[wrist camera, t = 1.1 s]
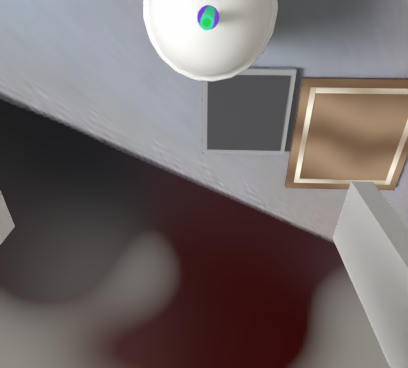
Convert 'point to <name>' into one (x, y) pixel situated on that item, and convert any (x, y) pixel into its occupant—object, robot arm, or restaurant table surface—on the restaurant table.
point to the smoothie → (210, 34)
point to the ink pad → (248, 112)
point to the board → (349, 133)
